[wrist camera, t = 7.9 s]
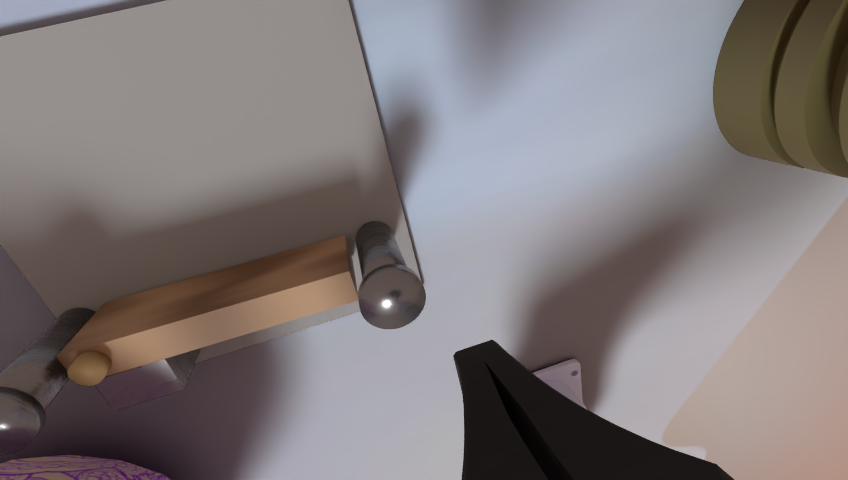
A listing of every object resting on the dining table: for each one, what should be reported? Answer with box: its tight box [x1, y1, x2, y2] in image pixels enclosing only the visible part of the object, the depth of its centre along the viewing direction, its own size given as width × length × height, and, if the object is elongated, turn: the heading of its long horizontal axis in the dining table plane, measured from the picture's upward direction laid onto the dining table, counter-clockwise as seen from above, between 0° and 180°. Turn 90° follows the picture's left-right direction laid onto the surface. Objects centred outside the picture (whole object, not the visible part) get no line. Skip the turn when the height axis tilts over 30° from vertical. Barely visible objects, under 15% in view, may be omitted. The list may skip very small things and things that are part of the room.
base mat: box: [0, 0, 421, 363], centre depth 19 cm, size 16×17×1 cm
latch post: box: [0, 308, 201, 455], centre depth 18 cm, size 4×6×7 cm
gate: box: [56, 235, 358, 386], centre depth 18 cm, size 12×2×5 cm, turn 102°
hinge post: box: [355, 221, 426, 329], centre depth 19 cm, size 3×3×7 cm
